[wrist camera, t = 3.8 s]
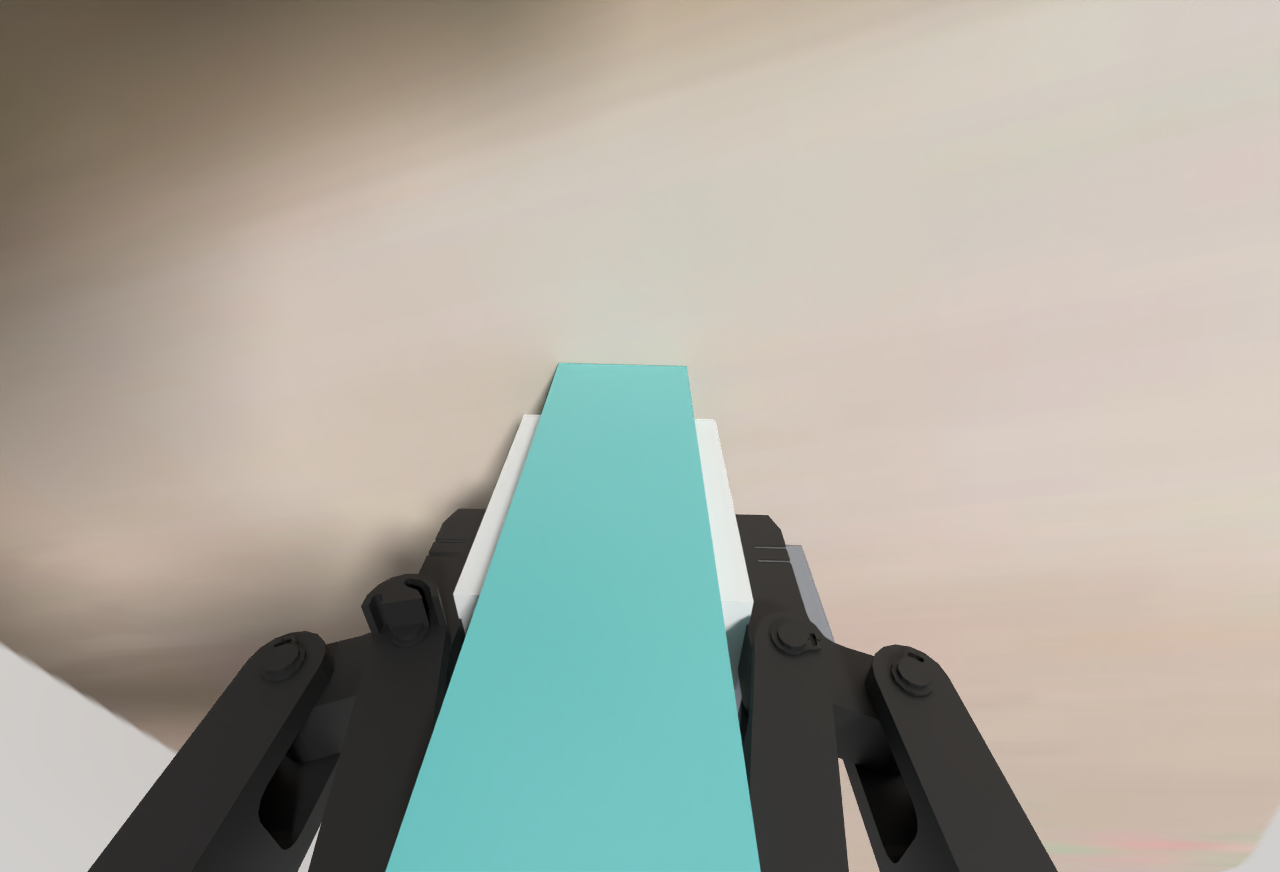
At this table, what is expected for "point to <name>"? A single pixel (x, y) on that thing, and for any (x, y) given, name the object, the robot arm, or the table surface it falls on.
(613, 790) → the plug
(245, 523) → the table surface
